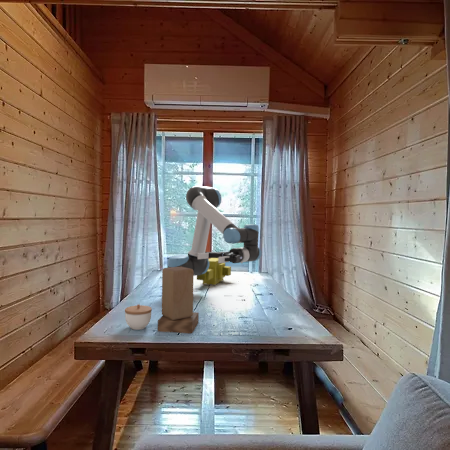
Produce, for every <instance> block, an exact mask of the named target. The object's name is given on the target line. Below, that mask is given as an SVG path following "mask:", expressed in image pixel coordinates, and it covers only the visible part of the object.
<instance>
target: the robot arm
mask: <svg viewBox="0 0 450 450" xmlns="http://www.w3.org/2000/svg"><path fill="white" fill-rule="evenodd" d="M185 200H186V203H187V205H188V206H189V207H190V208H191V209H193V210H194V211H197V213H196V214H197V216H196V221H195V227H194V232H193V239H192V244H191V249H190V250H189V251H188V252H187V254H176V255H172V256H170V257H169V258H168V261H167V268H170V267H185V268H190V269H193V271H194V273H193V277H195V276H196V277H197V275H201V274H204V273H206V272H207V270H208V269H209V259H210V258H218V263H225V264H226V263H232V264H239V263H240V264H243V263H249V262H256V261H258V260H260V259H261V258H262V255H263V254H262V253H263V252H262V250H261V248H260V247H259V234H260V233H259V230H260V229H259V225H258V224H253V223H247V224H244V226H243V227H238V226H237V225H236V224H235V223H233V221H231V220H230V219H229V218H227V217H226V216H225V215H224V214H223V213H222V212H221V211H220V210H219V209H217V208H218V207H219V206H220V205H221V203H222V194H221V193H220V191H219V189H217V188H215V187H212V186H201V185H194V186H192V187H190V188H189V189H188V190H187V191H186V194H185ZM211 225H212V226H213V227H215V228H216V229H217V230H218V231H219V232H220V233H221V234H222V238H223V239H224V242H225V243H227V244H243V247H242V246H241V247H232V248H231V249H229V250H228V251H206V249H207V244H208V239H209V233H210V228H211Z"/></svg>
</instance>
